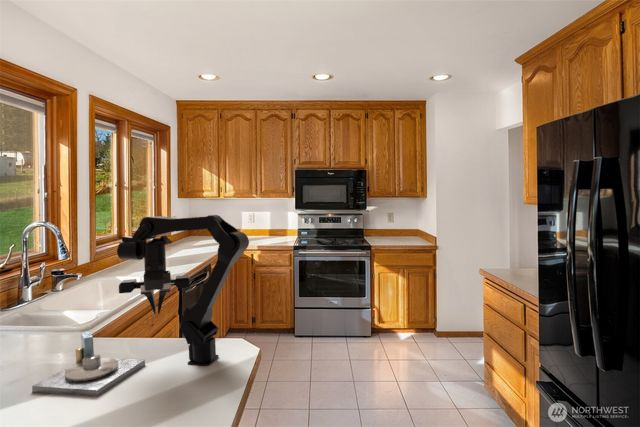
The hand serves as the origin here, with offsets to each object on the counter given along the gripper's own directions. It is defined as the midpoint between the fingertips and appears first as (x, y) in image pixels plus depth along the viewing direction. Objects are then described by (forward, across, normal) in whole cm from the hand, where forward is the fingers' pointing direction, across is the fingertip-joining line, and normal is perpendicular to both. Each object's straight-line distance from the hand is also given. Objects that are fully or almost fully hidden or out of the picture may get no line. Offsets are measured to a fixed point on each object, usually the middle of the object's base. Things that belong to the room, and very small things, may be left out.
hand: (157, 313), depth 115 cm
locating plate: (+13, -16, -8) cm, 22 cm away
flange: (+11, -16, -6) cm, 21 cm away
